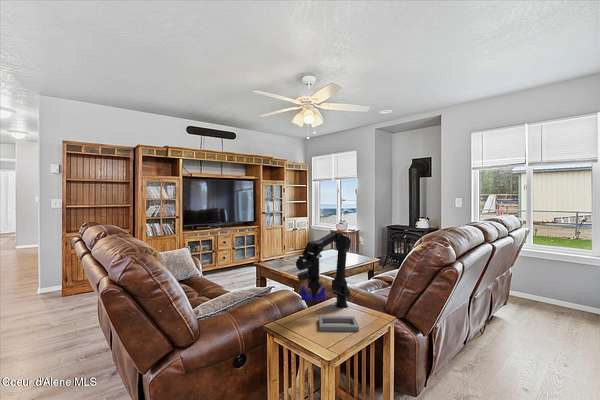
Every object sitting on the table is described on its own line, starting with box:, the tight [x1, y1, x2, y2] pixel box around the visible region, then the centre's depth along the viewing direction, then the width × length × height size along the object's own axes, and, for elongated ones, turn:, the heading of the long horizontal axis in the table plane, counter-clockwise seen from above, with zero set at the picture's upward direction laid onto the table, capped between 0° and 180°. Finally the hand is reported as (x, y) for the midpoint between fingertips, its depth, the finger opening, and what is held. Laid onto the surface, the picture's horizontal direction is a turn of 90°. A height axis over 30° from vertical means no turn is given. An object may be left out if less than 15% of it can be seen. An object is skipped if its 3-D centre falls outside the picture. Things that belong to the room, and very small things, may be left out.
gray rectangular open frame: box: [318, 315, 360, 332], centre depth 142 cm, size 12×18×2 cm, turn 89°
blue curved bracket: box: [300, 285, 326, 301], centre depth 151 cm, size 12×4×6 cm, turn 86°
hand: (313, 296), depth 151 cm, fingers closed on blue curved bracket, 4 cm apart
